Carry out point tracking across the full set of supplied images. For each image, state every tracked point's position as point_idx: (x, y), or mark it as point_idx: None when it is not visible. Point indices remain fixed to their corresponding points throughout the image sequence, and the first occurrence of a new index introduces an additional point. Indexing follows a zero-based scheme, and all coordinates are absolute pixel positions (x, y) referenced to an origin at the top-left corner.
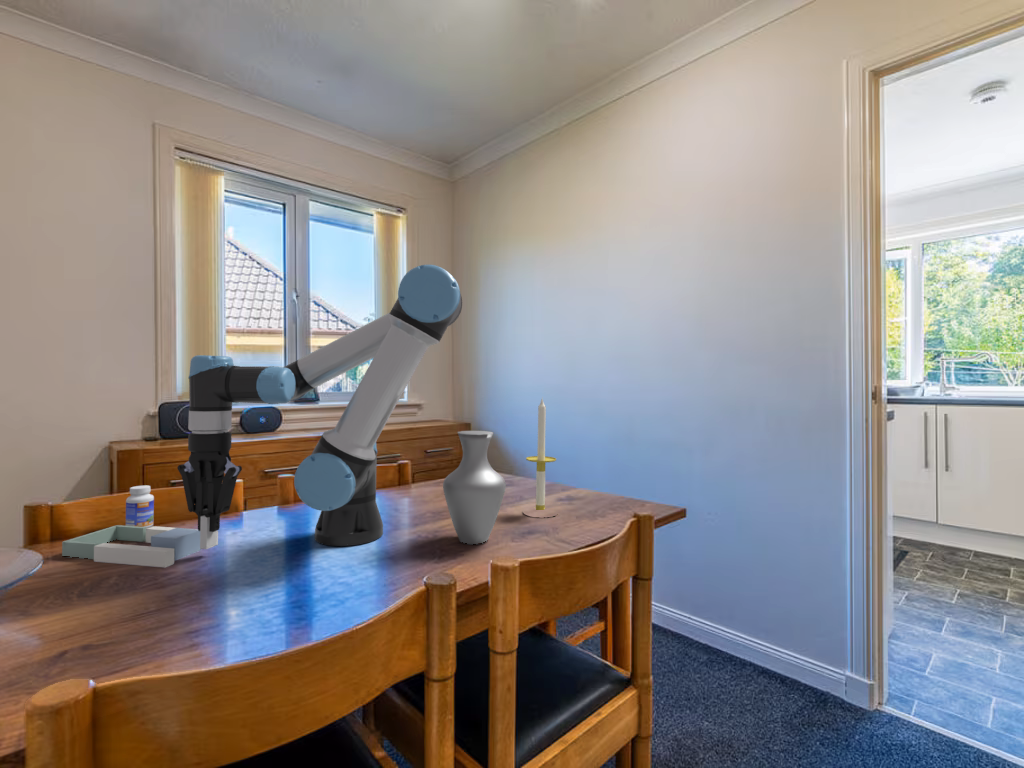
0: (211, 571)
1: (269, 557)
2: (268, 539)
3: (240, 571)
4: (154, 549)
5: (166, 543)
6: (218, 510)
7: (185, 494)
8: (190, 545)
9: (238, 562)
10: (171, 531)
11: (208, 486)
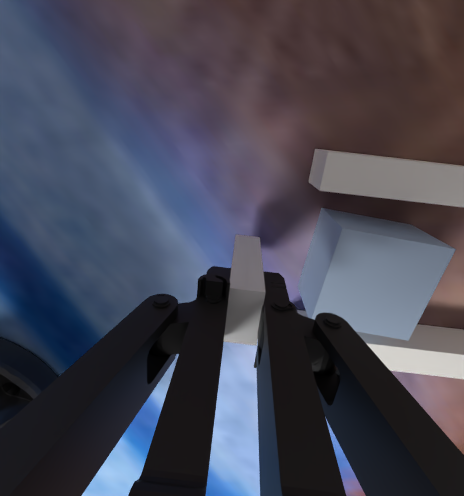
0: (155, 132)
1: (74, 250)
2: (170, 367)
3: (72, 140)
4: (386, 172)
5: (374, 229)
6: (156, 301)
7: (410, 396)
8: (312, 267)
9: (129, 208)
10: (406, 303)
11: (207, 447)
